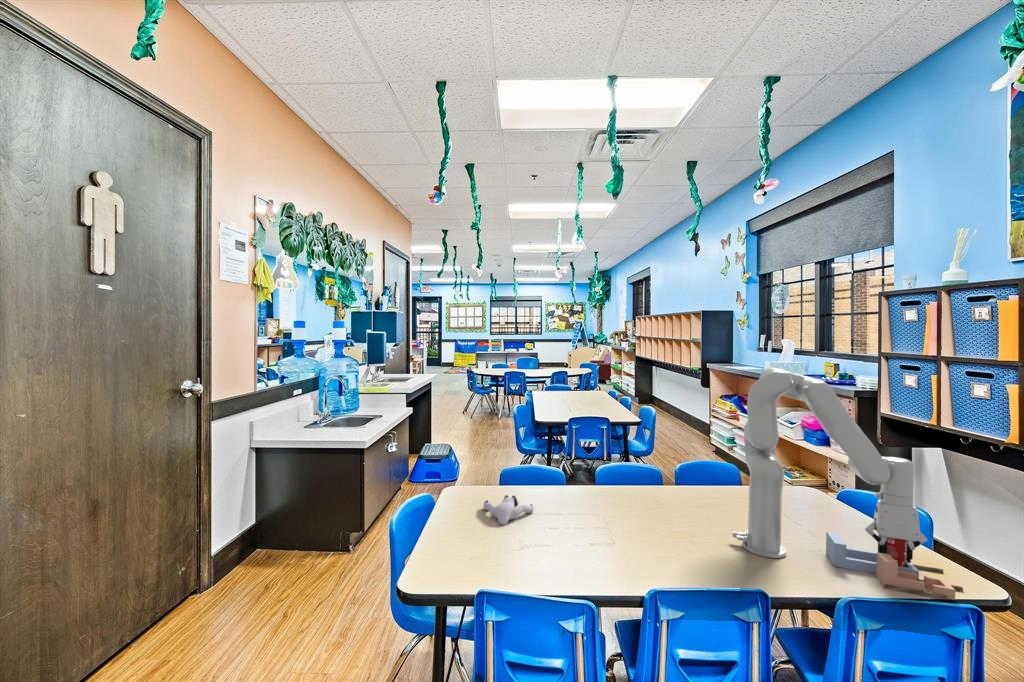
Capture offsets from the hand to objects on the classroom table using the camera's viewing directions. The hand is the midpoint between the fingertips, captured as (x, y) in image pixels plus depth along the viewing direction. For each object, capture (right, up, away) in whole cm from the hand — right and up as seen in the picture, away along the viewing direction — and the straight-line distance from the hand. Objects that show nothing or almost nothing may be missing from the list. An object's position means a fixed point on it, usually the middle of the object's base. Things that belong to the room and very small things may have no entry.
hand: (894, 558), depth 136 cm
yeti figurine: (-119, -2, +36) cm, 124 cm away
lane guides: (+2, -4, -5) cm, 7 cm away
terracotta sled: (-6, -4, -8) cm, 10 cm away
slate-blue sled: (-6, -4, +2) cm, 7 cm away
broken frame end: (+3, -4, -11) cm, 12 cm away
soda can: (0, -4, 0) cm, 4 cm away
